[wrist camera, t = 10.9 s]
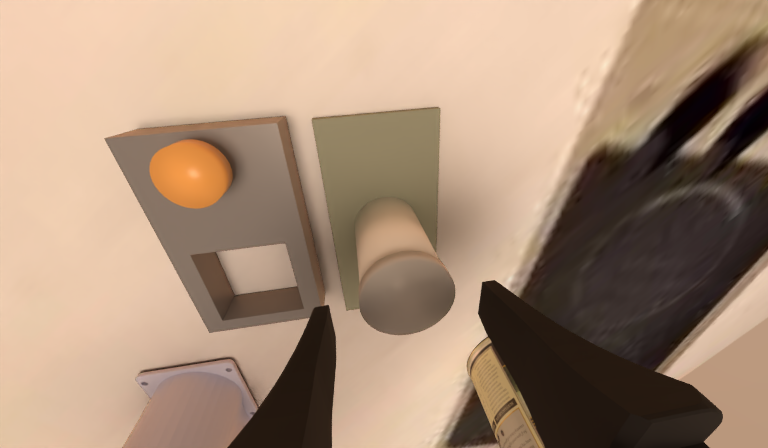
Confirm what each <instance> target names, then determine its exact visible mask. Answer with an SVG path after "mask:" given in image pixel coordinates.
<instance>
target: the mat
mask: <svg viewBox="0 0 768 448" xmlns="http://www.w3.org/2000/svg"><path fill="white" fill-rule="evenodd" d="M312 124H313V130H314V135H315V141H316V146H317V151H318V157H319V162H320V168H321V173H322V179H323V184H324V190H325V195H326V201H327V206H328V212H329V217H330V223H331V228H332V234H333V239H334V245H335V250H336V256H337V261H338V267H339V272H340V278H341V283H342V289H343V294H344V300H345V305H346V311H347V310H354V309H360V307H359V284H360V282H359V271H358V259H357V248H356V237H355V220H356V217H357V215H358V213H359V211H360V210H361V209H362V208H363V207H364V206H365V205H366V204H367V203H369V202H370V201H372V200H374V199H377V198H381V197H395V198H398V199H401V200H403V201H405V202H406V203H408V204H409V205H410V206H411V208H412V209H413V211H414V213H415V215H416V216H417V218H418V220H419V222H420V224H421V226H422V228H423V230H424V232H425V233H426V235H427V237H428V239H429V241H430V243H431V245H432V247H433V249H434V250H435V252H436V237H437V204H438V171H439V138H440V108H438V107H434V108H422V109H411V110H400V111H389V112H378V113H366V114H355V115H344V116H333V117H322V118H313V119H312Z"/></svg>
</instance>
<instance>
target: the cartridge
mask: <svg viewBox="0 0 768 448" xmlns="http://www.w3.org/2000/svg"><path fill="white" fill-rule="evenodd" d="M355 237H356V248H357V259H358V271H359V282H360V284H359V307H360V312H361V314H362V316H363V318H364V320H365V321H366V322H367V323H368V324H369V325H370V326H371V327H373V328H374V329H376V330H378V331H380V332H383V333H387V334H393V335H407V334H413V333H417V332H420V331H423V330H425V329H427V328H429V327H431V326H433V325H435V324H436V323H437V322H439V321H440V320H441V319H442V318H443V317H444V316H445V315H446V314H447V313H448V311H449V310H450V308H451V306H452V304H453V302H454V298H455V285H454V282H453V280H452V278H451V276H450V274H449V272H448V271H447V269H446V267H445V266H444V264H443V263H442V262H441V261H440V260H439V258H438V256H437V254H436V252H435V250H434V249H433V247H432V245H431V243H430V241H429V239H428V237H427V235H426V233H425V232H424V230H423V228H422V226H421V224H420V222H419V220H418V218H417V216H416V215H415V213H414V211H413V209H412V208H411V206H410V205H409V204H408V203H406V202H405V201H403V200H401V199H398V198H395V197H381V198H377V199H374V200H372V201H370V202H369V203H367V204H366V205H365V206H364V207H363V208H362V209H361V210H360V211H359V213H358V215H357V217H356V220H355Z"/></svg>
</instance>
